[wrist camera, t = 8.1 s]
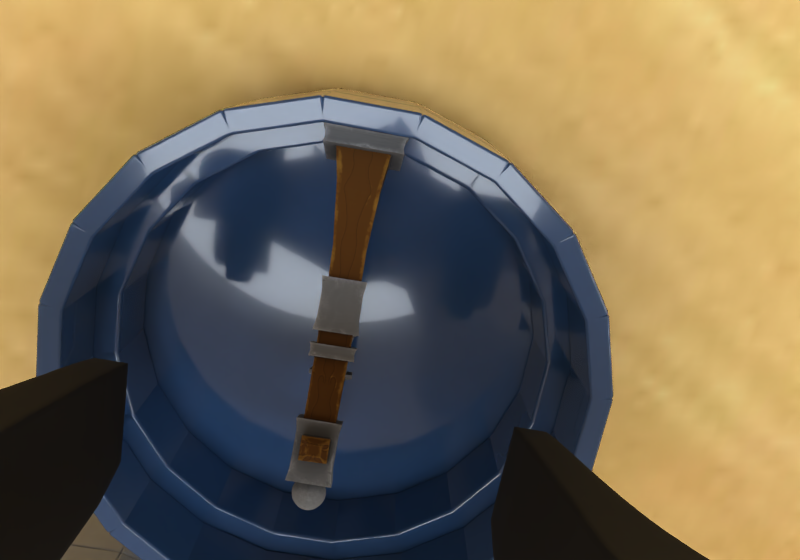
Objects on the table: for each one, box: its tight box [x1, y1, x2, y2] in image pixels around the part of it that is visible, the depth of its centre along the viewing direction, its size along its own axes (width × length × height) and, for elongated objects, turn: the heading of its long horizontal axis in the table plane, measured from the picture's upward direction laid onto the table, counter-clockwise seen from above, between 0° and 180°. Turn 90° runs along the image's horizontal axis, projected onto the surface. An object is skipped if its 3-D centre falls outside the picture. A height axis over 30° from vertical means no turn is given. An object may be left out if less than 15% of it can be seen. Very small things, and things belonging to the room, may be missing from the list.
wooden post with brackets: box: [285, 122, 409, 510], centre depth 17 cm, size 2×8×4 cm, turn 170°
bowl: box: [36, 88, 613, 560], centre depth 17 cm, size 12×12×4 cm
